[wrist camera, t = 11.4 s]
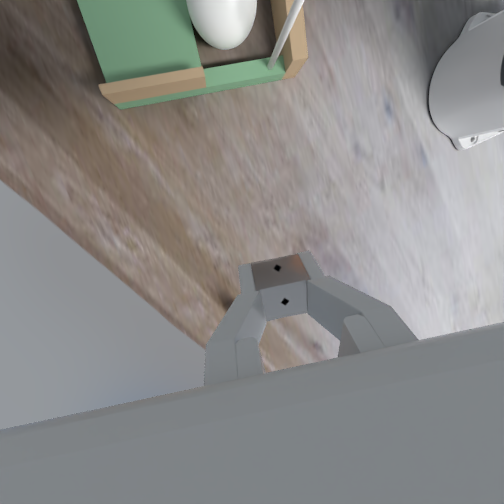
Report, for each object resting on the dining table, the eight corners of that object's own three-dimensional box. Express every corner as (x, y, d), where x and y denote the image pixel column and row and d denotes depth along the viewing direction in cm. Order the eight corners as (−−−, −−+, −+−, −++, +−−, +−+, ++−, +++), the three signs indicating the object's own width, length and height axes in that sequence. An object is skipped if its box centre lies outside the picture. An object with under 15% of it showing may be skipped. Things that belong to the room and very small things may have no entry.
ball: (161, -39, 23) (214, -3, 29) (183, 52, 26) (228, 68, 31) (211, -114, 18) (263, -53, 24) (232, 8, 21) (275, 37, 26)
